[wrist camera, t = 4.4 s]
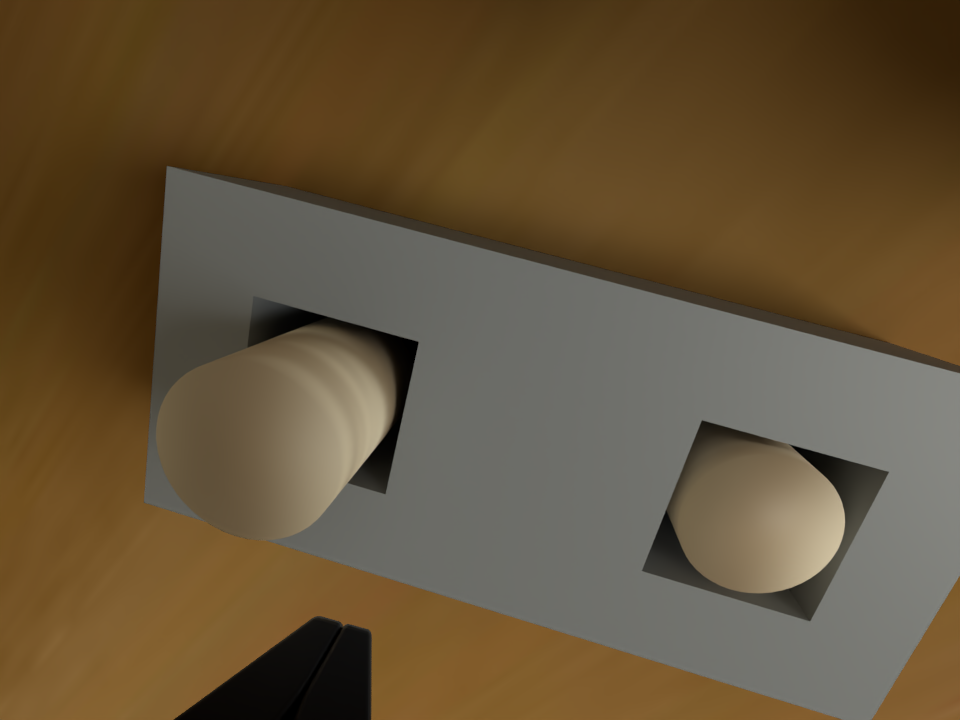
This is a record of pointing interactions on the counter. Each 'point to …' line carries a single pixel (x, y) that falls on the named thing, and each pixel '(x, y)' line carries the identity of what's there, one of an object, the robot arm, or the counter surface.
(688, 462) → the birch peg
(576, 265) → the grey peg board
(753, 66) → the counter surface
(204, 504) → the birch peg
